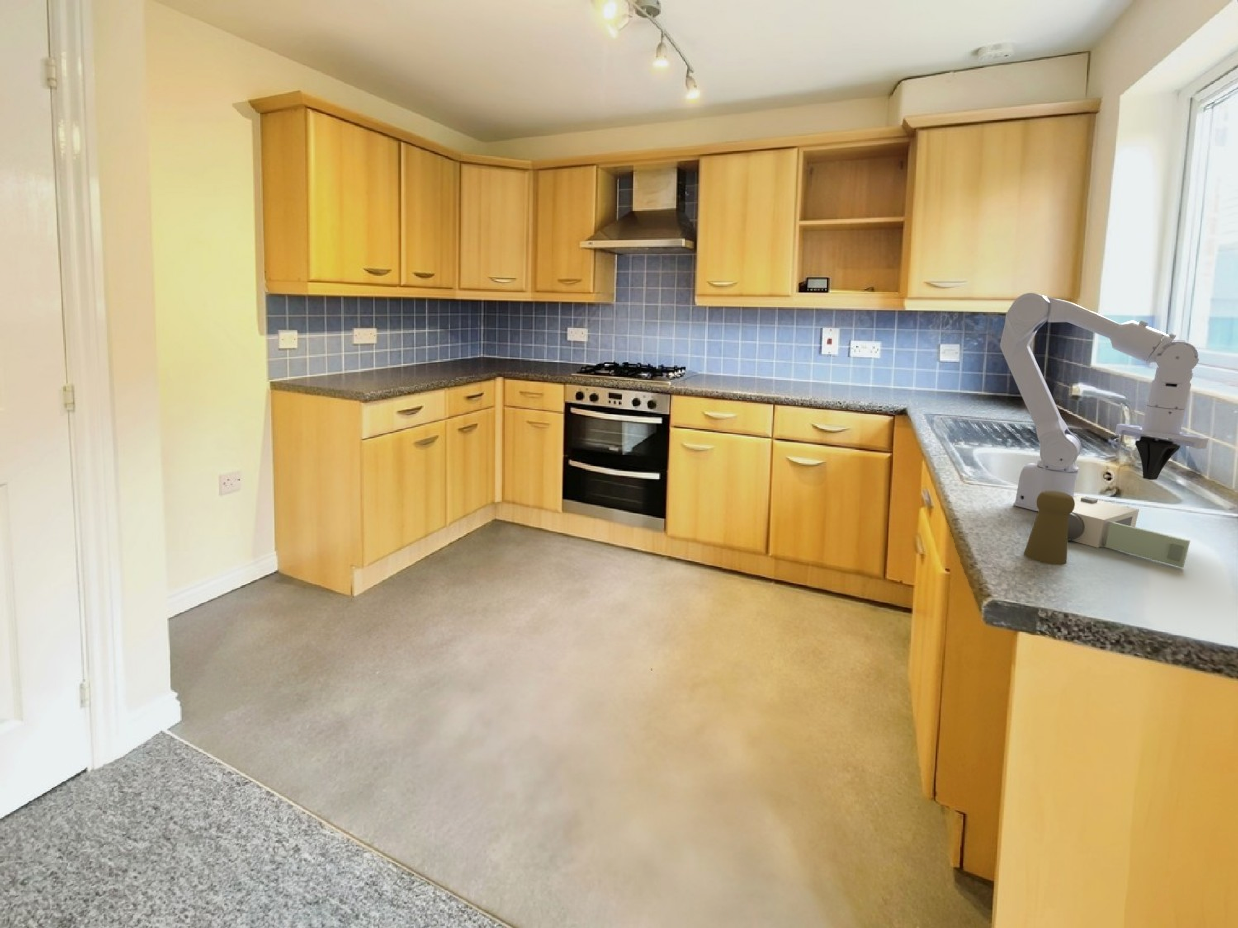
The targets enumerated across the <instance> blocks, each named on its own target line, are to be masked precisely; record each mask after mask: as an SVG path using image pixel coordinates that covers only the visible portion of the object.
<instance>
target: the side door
mask: <svg viewBox="0 0 1238 928" xmlns="http://www.w3.org/2000/svg"><path fill="white" fill-rule="evenodd" d="M1190 542H1191V540H1189V539H1185V538H1181V537H1177V536H1172V535H1169V534H1164V533H1162V532H1161V533H1160V532H1156V531H1151V530H1147V529H1143V528H1140V527H1136V526H1135V527H1132V526H1128V525H1124V524H1120V523H1115V522H1112V521H1107V523H1106V528H1105V533H1104V537H1103V542H1102V547H1103V548H1107V549H1111V550H1114V551H1115V550H1116V551H1119V552H1123V553H1126V554H1130V555H1134V556H1138V557H1141V558H1145V559H1149V560H1151V561H1156V562H1160V563H1164V564H1167V565H1170V566H1175V567H1179V568H1184V566H1185V564H1186V559H1187V556H1188V551H1189V546H1190Z"/></svg>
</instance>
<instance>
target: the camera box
mask: <svg viewBox="0 0 1238 928" xmlns="http://www.w3.org/2000/svg"><path fill="white" fill-rule="evenodd" d="M1073 499H1074V501H1075V506H1074V509H1073V511H1072V512H1071V513H1070V514H1069V515H1068V538H1067V541H1073V542H1077V543H1079V544H1083V545H1087V546H1091V547H1093V548H1094V547H1095V548H1101V547H1103V546H1102V542H1103V537H1104V533H1105V528H1106V523H1107V521H1112V522H1115V523H1120V524H1124V525H1128V526H1132V527H1136V525H1137V520H1138V517H1139V516H1138V515H1139V512H1140V509H1138V508H1135V507H1129V506H1125V505H1121V504H1116V503H1112V502H1108V501H1103V500H1101V499H1100V500H1099V499H1098V498H1094V497H1089V496H1082V495H1077V496H1074V497H1073Z"/></svg>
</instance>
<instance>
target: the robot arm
mask: <svg viewBox="0 0 1238 928" xmlns="http://www.w3.org/2000/svg"><path fill="white" fill-rule="evenodd" d="M1004 321H1005V322H1004V327H1003V330H1002V334H1001V338H1000V341H999V342H1000V343H999V345H1000V350H1001V352H1002V354H1003V356H1004V360H1005V361H1006V364H1007V366H1008V368H1009V370H1010V372H1011V375H1012V376H1013V380H1014V383H1015V384H1016V386H1017V388H1018V391H1019V393H1020V395H1021V398H1022V399H1023V402H1024V405H1025V406H1026V409H1027V410H1028V411H1027V412H1028V413H1029V416H1030V417H1031V419H1032V421H1033V424H1034V427H1035V432H1036V437H1037V439H1038V442H1039V445H1040V447H1039V449H1040V450H1039V458H1040V460H1038V461H1037V462H1036V463H1034V462H1029V463H1027V464H1025V465H1024V466H1023V467H1022V470H1021V472H1020V475H1019V477H1018V484H1017V489H1016V493H1015V494H1016V495H1015V501H1014V502H1013V503H1012V505H1013V506H1015V507H1018V508H1022V509H1026V510H1031V511H1034V512H1037V513H1038V512H1039V509H1038V507H1037V497H1038V495H1039V494H1040V493H1041V492H1044V491H1058V492H1063V493H1066V494H1069V495H1071V496H1072V497H1075V491H1076V485H1077V481H1078V476H1079V471H1080V467H1079V466H1077V464H1076V461H1077V459H1078V457H1079V456H1080V454H1081V451H1082V443H1081V440H1080V439H1079V438H1078V437H1077V436H1076V435H1075V434H1073V433H1072V432H1071V430H1070V429H1069V427H1068V425H1067V424H1066V422H1065V420H1064V419H1063V418H1062V416H1061V414H1060V411H1059V409H1058V407H1057V405H1056V402H1055V400H1054V398H1053V396H1052V393H1051V391H1050V389H1049V386H1048V384H1047V382H1046V380H1045V377H1044V376H1043V375H1044V374H1043V373H1042V370H1041V369H1040V367H1039V365H1038V363H1037V360H1036V358H1035V355H1034V352H1033V351H1032V349H1031V343H1032V341H1033V340H1034V337H1035V336H1036V335H1037V332H1038V331H1039V329H1040V328H1041V327H1043V325H1044V324H1045V323H1069V324H1072V325H1074V326H1077V327H1079V328H1082V329H1084V330H1087V331H1089V332H1092V333H1095V334H1096V335H1099V336H1102V337H1105V338H1107V339H1109V340H1110V344H1111V346H1112V349H1113V350H1116V351H1117V352H1120V353H1123V354H1125V355H1127V356H1129V357H1132V358H1134V359H1137V360H1139V361H1141V362H1144V363H1146V364H1151V363H1156V365H1157V367H1156V368H1155V369H1156V371H1155V374H1154V378H1153V379H1152V381H1151V383H1150V388H1149V393H1148V397H1147V403H1146V406H1145V412H1144V415H1143V420H1142V425H1133V424H1127V423H1117V424H1116V426H1115V432H1114V434H1115V435H1121V436H1130V437H1136V438H1139V440H1135V443H1134V444H1135V445H1134V446H1135V447H1136V449H1137V452H1138V454H1139V458H1140V460H1141V461H1140V462H1141V468H1142V479H1145V480H1149V481H1153V480H1154V481H1155V480H1156V481H1157V480H1158V478H1159V476H1160V474H1161V473H1162V470H1163V468H1164V467H1165V466H1166V464H1167V462H1168V461H1169V460H1170V459H1171V457H1172V456H1174V454H1175V453H1176V452H1177V451H1179V449H1180V448H1181V446H1184V447H1191V448H1193V449H1197V450H1202V449H1203V450H1205V449H1207V446H1208V441H1209V437H1204V436H1199V435H1194V434H1191V433H1186V432H1181V431H1182V425H1183V421H1184V418H1185V417H1184V416H1185V412H1186V409H1187V404H1188V401H1189V400H1188V399H1189V397H1190V396H1189V395H1190V392H1191V391H1190V390H1191V387H1192V383H1191V380H1192V379H1193V376H1194V375H1193V369H1195V368H1196V366H1197V365H1198V363H1199V360H1200V358H1199V353H1198V350H1197V348H1196V347H1195V346H1194V345H1192V344H1191V343H1189V342H1188V341H1186V340H1183V339H1176V337H1177V335H1176V334H1174V333H1172V332H1170V333H1169V334H1167V333H1165V332H1163V331H1160V330H1158V329H1155V328H1152V327H1150V326H1148V325H1149V322H1146V321H1144V320H1140V321H1139V322H1138V321H1135V320H1130V321H1126V322H1123V323H1119V322H1117V321H1114V320H1112V319H1110V318H1107V317H1105V316H1103V315H1100V314H1099V313H1097V312H1095V311H1091V310H1089V309H1087V308H1084V307H1082V306H1080V305H1077V304H1076V303H1073V302H1070V301H1067V300H1064V299H1063V300H1062V299H1059V298H1054V297H1050V296H1046V295H1043V294H1040V293H1037V292H1027V293H1026V292H1025V293H1023V294H1021V295H1019V296H1017V297H1016V298H1015V300H1014V301H1013V302H1012V304H1011V305H1010V307H1009V308H1008V310H1007V312H1006V313H1005V320H1004Z"/></svg>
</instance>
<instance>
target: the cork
mask: <svg viewBox="0 0 1238 928" xmlns="http://www.w3.org/2000/svg"><path fill="white" fill-rule="evenodd" d="M1074 506H1075V501H1074V499H1073V497H1072V496H1071V495H1069V494H1066V493H1063V492H1058V491H1044V492H1041V493H1040V494H1039V495H1038V497H1037V507H1038V509H1039V512H1038V511H1037V515H1036V518H1035V521H1034V523H1033V525H1032V529H1031V530H1030V531H1031V532H1030V535H1029V537H1028V541H1027V543H1026V546H1025V549H1024V552H1023V555H1024V556H1025V557H1026V558H1028V559H1030V560H1033V561H1035V562H1040V563H1045V564H1049V565H1064V564H1067V561H1068V560H1067V559H1068V540H1067V538H1068V515H1069V514H1070V513H1071V512H1072V511H1073V509H1074Z"/></svg>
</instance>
